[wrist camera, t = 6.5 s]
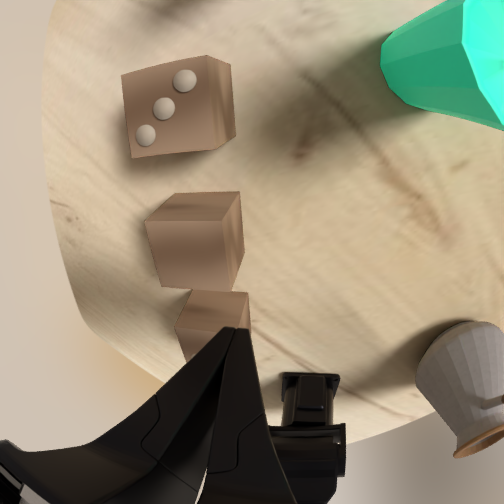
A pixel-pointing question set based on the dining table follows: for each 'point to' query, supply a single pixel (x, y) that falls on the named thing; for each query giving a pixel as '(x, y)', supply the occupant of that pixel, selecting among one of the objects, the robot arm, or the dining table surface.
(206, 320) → the two dot block
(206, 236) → the plain block
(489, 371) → the coffee pot
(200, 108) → the three dot block
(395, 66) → the candle
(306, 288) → the dining table surface
